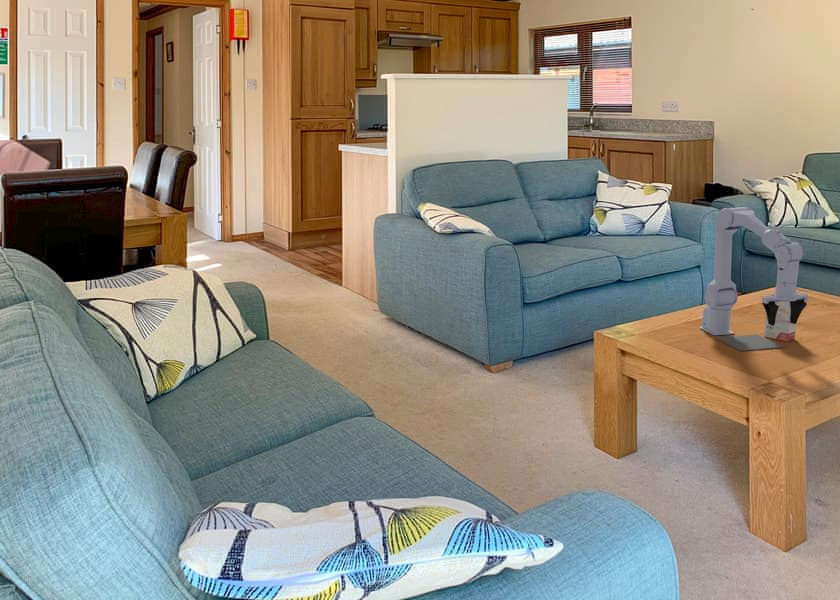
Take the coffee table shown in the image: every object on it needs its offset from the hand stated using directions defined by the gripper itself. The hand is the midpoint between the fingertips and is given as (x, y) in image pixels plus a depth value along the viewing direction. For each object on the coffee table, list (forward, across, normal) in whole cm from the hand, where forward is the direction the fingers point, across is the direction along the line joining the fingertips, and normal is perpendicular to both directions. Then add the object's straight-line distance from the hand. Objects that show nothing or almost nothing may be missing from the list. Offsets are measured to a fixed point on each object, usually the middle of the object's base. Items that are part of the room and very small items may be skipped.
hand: (782, 323), depth 241 cm
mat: (+10, -2, +13) cm, 16 cm away
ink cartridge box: (+10, +11, +16) cm, 22 cm away
